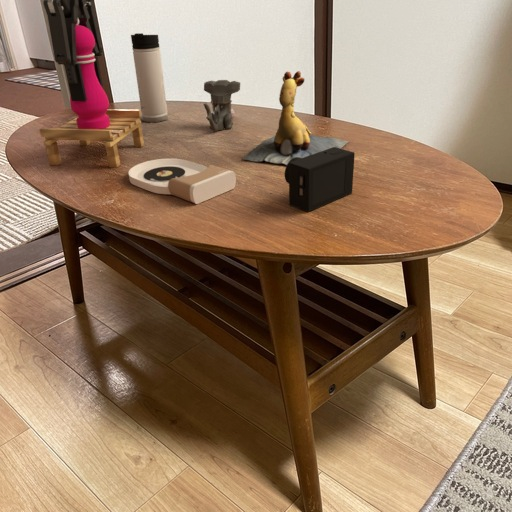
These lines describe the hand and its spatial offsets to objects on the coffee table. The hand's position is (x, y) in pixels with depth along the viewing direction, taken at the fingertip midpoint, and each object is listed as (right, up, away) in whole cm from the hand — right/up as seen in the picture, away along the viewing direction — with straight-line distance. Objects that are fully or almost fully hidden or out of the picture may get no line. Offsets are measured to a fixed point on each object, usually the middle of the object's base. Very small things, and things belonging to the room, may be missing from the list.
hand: (88, 95), depth 99 cm
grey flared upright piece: (+23, 0, +22) cm, 32 cm away
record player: (+19, -18, -9) cm, 27 cm away
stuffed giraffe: (+41, -10, +4) cm, 42 cm away
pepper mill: (0, -5, +3) cm, 6 cm away
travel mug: (+7, +3, +29) cm, 30 cm away
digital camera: (+42, -22, -17) cm, 50 cm away
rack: (0, -10, +6) cm, 12 cm away
